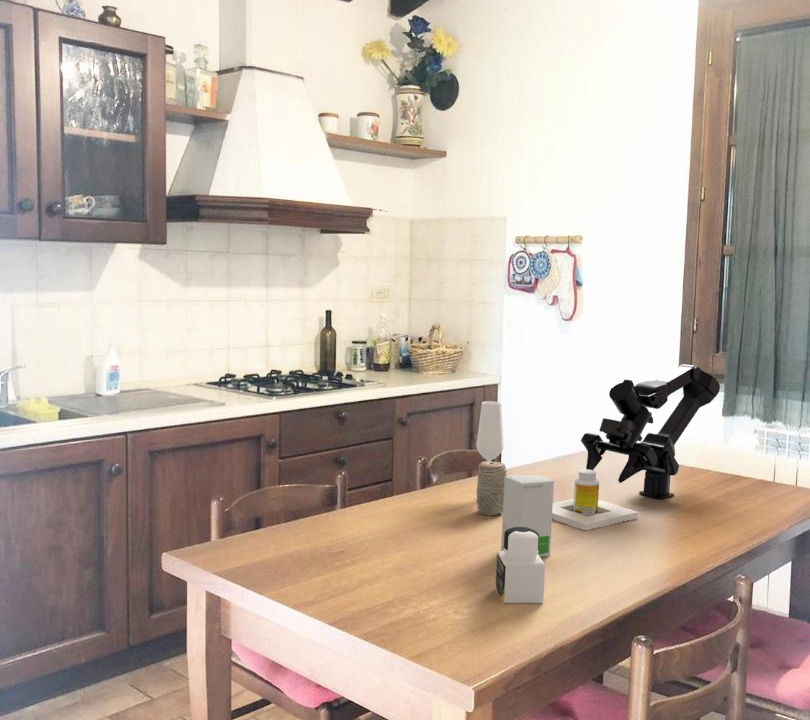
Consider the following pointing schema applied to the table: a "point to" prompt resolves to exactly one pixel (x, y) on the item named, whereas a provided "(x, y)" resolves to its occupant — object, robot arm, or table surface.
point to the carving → (491, 487)
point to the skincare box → (529, 507)
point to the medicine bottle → (520, 567)
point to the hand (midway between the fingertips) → (602, 477)
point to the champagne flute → (490, 431)
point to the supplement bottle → (586, 493)
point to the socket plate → (603, 518)
